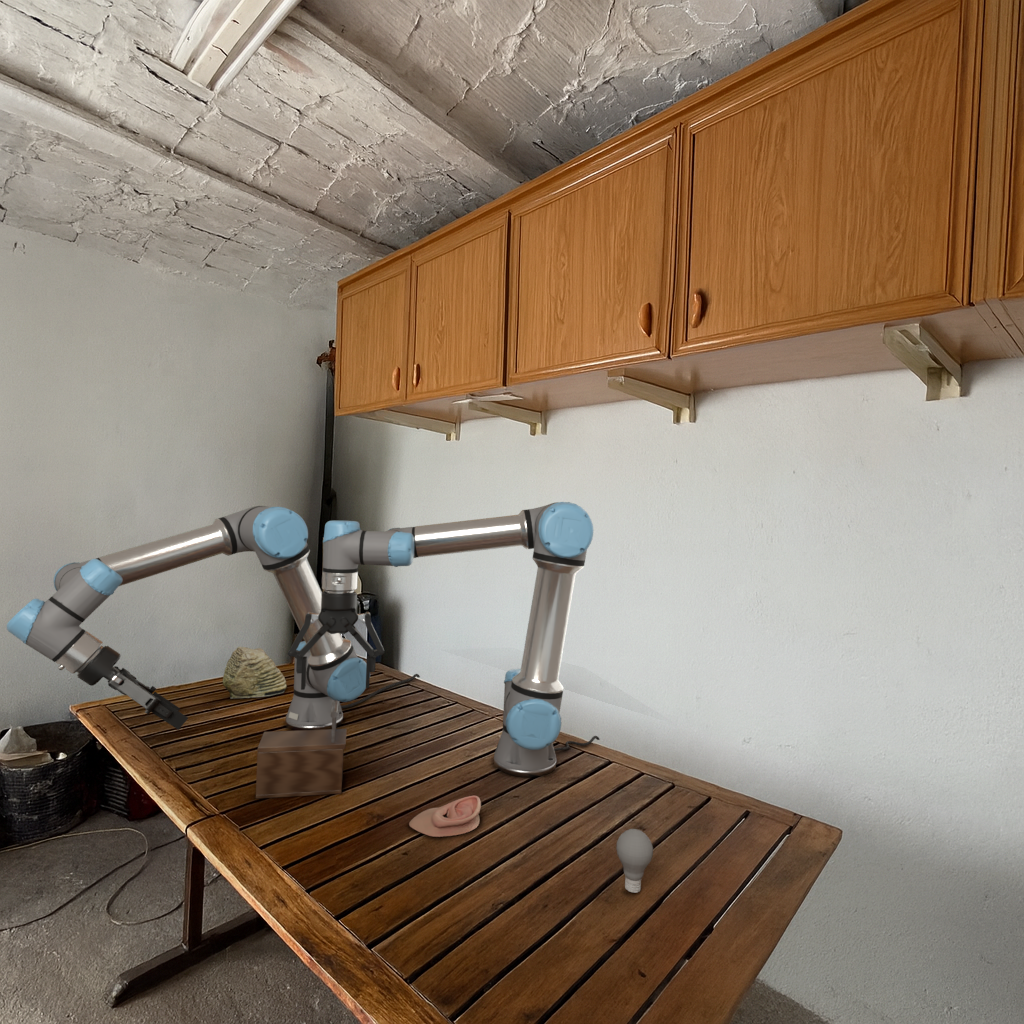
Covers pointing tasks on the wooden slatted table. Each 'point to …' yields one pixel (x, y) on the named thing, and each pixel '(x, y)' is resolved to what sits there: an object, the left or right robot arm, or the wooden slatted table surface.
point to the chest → (299, 773)
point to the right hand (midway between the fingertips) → (335, 687)
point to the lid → (305, 738)
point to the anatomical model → (449, 818)
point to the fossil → (252, 674)
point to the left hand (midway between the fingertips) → (179, 718)
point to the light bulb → (634, 857)
